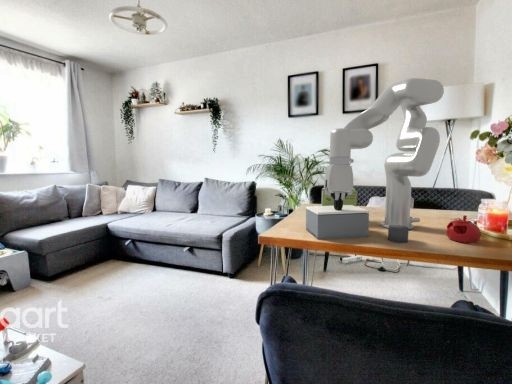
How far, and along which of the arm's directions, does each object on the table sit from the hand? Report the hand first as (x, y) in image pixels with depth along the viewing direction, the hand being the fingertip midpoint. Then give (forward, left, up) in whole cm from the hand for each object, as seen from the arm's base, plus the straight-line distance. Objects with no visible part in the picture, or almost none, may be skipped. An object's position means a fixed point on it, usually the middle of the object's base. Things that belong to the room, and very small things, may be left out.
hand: (338, 209), depth 103 cm
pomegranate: (-41, +14, -10) cm, 44 cm away
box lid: (-1, -3, -1) cm, 3 cm away
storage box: (-1, -3, -10) cm, 11 cm away
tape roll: (-19, +10, -10) cm, 23 cm away
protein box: (-11, -23, -10) cm, 27 cm away
